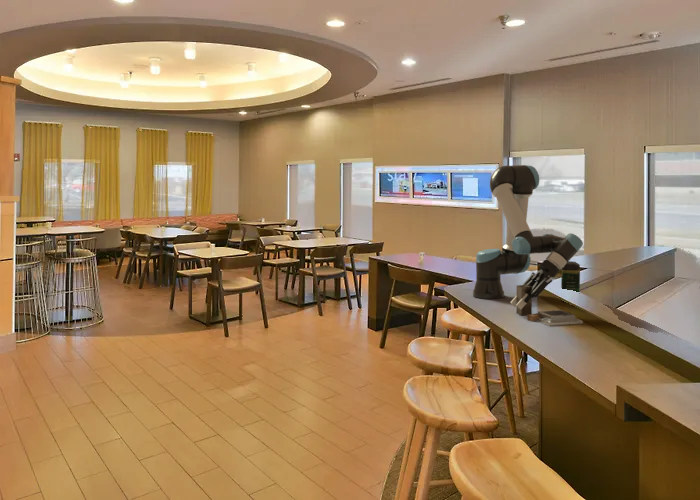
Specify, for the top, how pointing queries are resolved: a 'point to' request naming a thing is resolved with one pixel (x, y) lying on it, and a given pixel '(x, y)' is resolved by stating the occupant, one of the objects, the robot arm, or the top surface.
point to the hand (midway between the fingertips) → (515, 305)
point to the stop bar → (520, 293)
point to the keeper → (557, 318)
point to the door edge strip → (533, 317)
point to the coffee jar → (571, 276)
